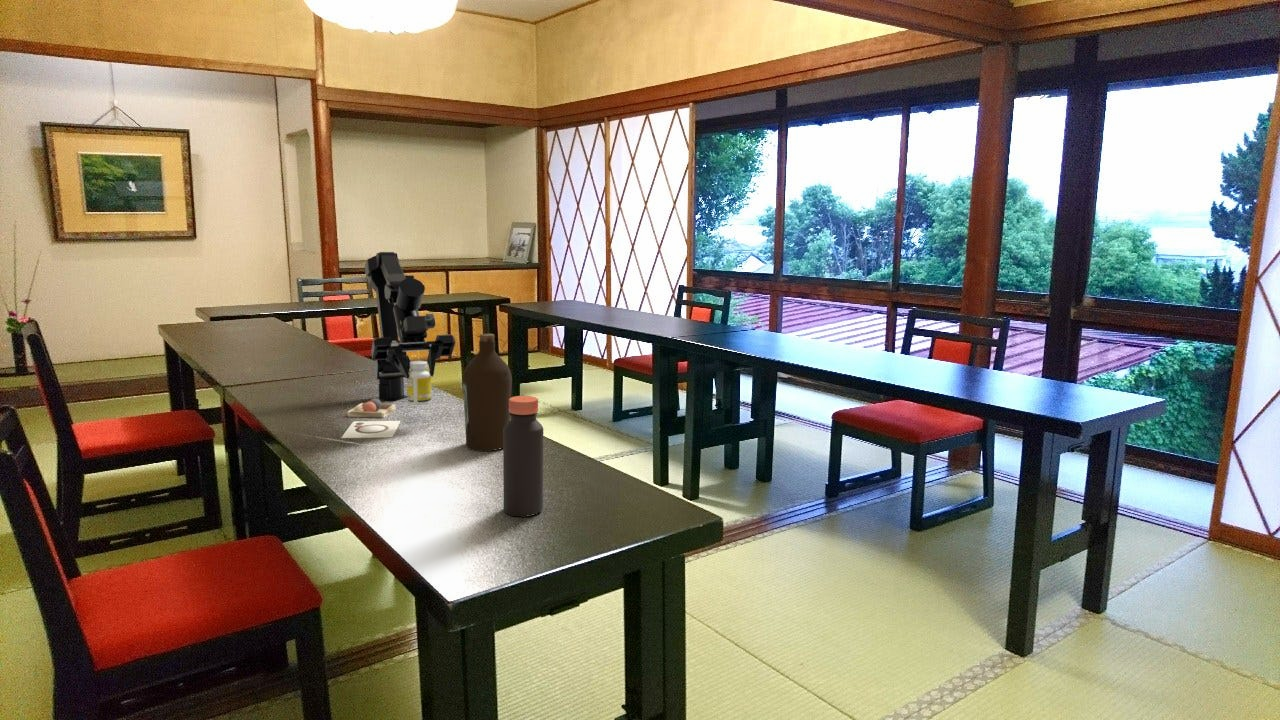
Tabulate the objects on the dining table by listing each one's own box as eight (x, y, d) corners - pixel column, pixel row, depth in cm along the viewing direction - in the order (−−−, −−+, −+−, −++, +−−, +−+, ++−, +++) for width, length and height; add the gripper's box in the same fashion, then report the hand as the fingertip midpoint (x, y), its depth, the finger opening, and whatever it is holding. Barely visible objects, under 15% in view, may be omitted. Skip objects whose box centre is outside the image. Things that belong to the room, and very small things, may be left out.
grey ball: (374, 408, 194) (373, 396, 194) (384, 410, 193) (383, 397, 193) (365, 411, 191) (365, 399, 191) (375, 412, 190) (375, 400, 190)
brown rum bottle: (514, 439, 173) (514, 331, 168) (508, 453, 163) (508, 338, 158) (468, 438, 173) (466, 330, 168) (459, 452, 162) (457, 337, 158)
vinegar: (508, 520, 127) (508, 405, 123) (499, 506, 133) (499, 395, 129) (547, 515, 129) (548, 402, 126) (536, 501, 135) (537, 393, 132)
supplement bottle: (434, 400, 180) (434, 360, 178) (426, 406, 175) (425, 364, 173) (413, 399, 180) (412, 359, 178) (403, 404, 175) (402, 363, 173)
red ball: (368, 412, 191) (368, 399, 190) (379, 413, 190) (378, 401, 189) (360, 414, 188) (359, 402, 187) (370, 416, 187) (370, 403, 186)
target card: (353, 423, 182) (353, 421, 182) (400, 422, 184) (400, 420, 184) (341, 439, 168) (341, 437, 168) (392, 438, 170) (392, 436, 170)
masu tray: (361, 409, 195) (361, 403, 195) (396, 410, 195) (395, 404, 195) (347, 418, 186) (347, 411, 186) (384, 419, 186) (383, 412, 186)
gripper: (371, 303, 172) (382, 359, 165) (452, 301, 181) (466, 354, 174) (366, 332, 180) (377, 386, 173) (444, 328, 189) (457, 380, 182)
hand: (420, 376), depth 175 cm, fingers closed on supplement bottle, 5 cm apart
